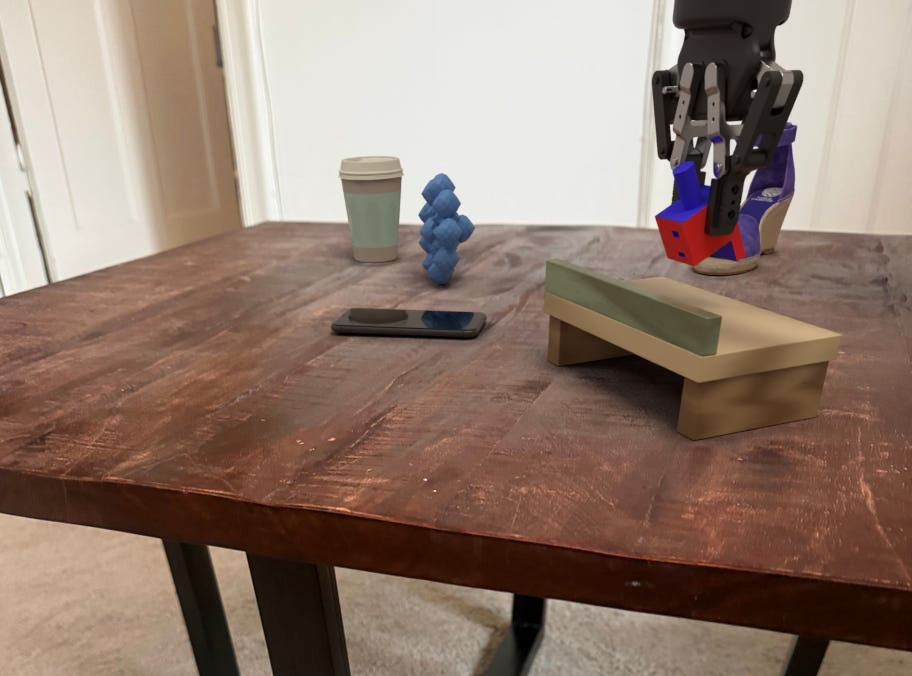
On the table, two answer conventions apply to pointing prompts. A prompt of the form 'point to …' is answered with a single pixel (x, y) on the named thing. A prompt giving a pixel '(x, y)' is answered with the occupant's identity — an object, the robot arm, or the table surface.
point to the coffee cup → (373, 205)
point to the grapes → (442, 228)
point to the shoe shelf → (692, 346)
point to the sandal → (761, 209)
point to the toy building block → (693, 223)
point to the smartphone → (410, 322)
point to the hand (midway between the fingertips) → (701, 229)
